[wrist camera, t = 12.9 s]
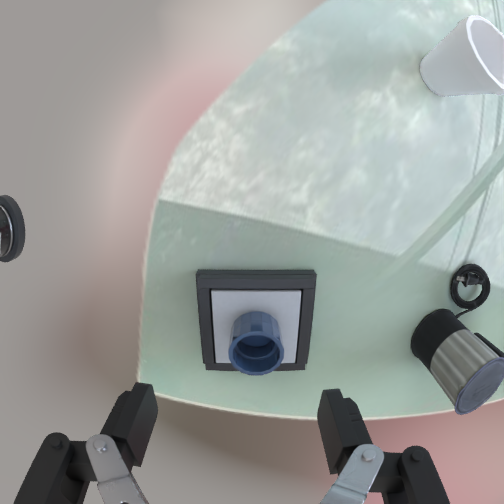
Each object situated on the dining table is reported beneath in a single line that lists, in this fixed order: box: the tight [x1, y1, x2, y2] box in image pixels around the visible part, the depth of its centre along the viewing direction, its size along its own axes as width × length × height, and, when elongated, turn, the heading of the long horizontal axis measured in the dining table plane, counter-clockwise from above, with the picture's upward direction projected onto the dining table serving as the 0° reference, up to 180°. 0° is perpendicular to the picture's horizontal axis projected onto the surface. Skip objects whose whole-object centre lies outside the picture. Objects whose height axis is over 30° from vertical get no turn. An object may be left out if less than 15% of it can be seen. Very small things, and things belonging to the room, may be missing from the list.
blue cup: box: [228, 311, 284, 375], centre depth 30 cm, size 6×6×5 cm
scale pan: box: [211, 289, 301, 363], centre depth 33 cm, size 10×10×1 cm
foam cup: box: [420, 15, 504, 97], centre depth 21 cm, size 10×9×13 cm
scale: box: [196, 270, 317, 371], centre depth 34 cm, size 14×13×3 cm
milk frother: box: [411, 264, 504, 415], centre depth 29 cm, size 14×16×15 cm
